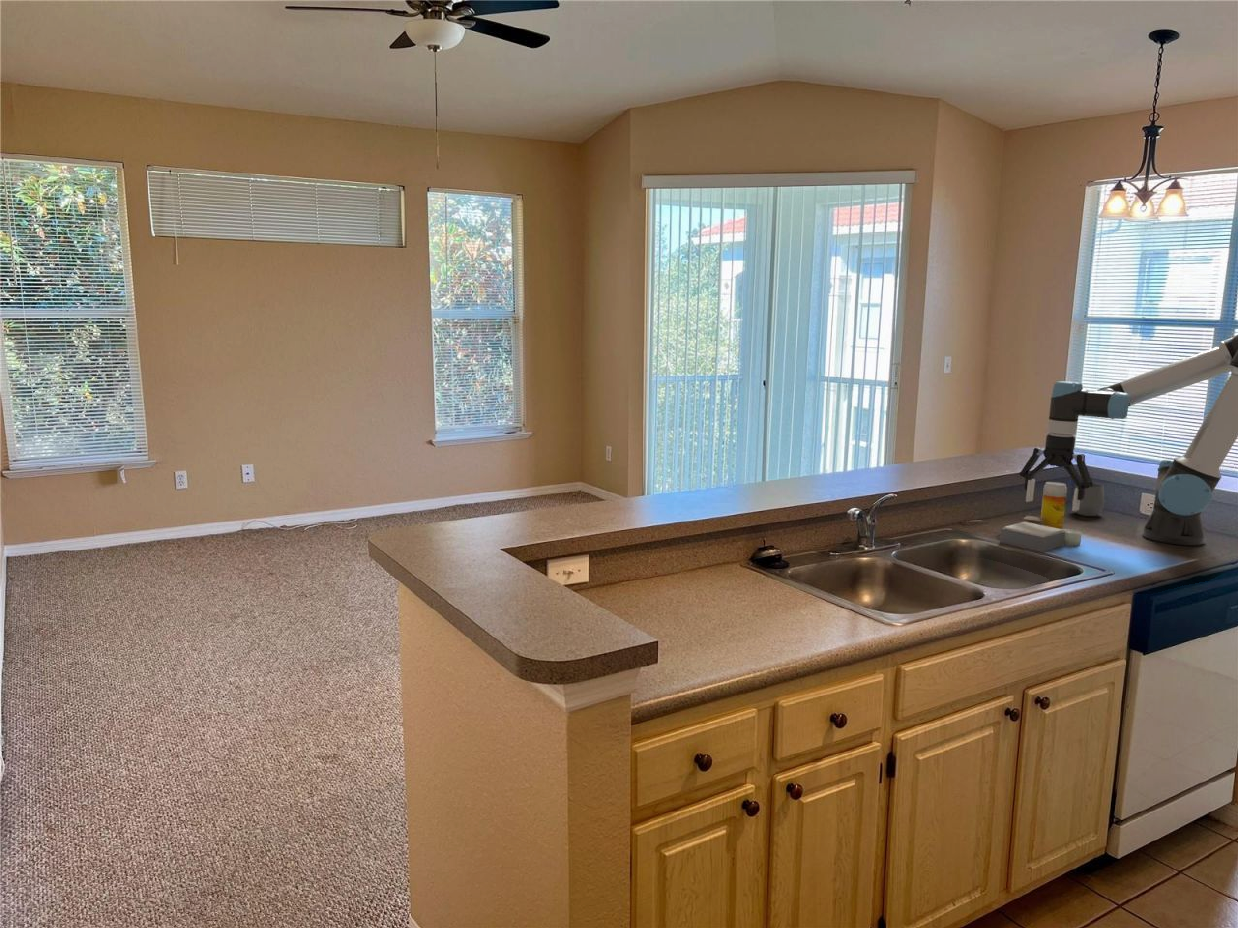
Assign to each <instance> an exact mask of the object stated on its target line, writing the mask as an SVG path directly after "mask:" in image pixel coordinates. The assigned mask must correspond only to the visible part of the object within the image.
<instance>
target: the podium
mask: <svg viewBox="0 0 1238 928" xmlns="http://www.w3.org/2000/svg"><path fill="white" fill-rule="evenodd" d="M1063 529H1064V528H1062V529H1058V528H1053V527H1048V526H1044V525H1039V524H1034V523H1029V522H1023V521H1022V522H1017V523H1014V524H1010V525H1006V526H1004V527H1003V528H1002V527H1001V532H1000V539H999V540H1000V543H1002V544H1006V545H1011V546H1014V547H1019V548H1023V549H1027V550H1032V551H1036V552H1040V553H1044V552H1047V551H1051V550H1053V549H1054V550H1055V549H1058V548H1061V547H1063V546H1065V545H1064V538H1065V532H1064V531H1063Z"/></svg>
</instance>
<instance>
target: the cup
mask: <svg viewBox="0 0 1238 928" xmlns="http://www.w3.org/2000/svg"><path fill="white" fill-rule="evenodd" d="M1092 483H1093V487H1091V488H1086V489H1085V494H1084V499H1083V500H1080V506H1079V510H1078V511H1074V512H1075V513H1076V514H1078V515H1079V516H1083V517H1084V516H1085V517H1098V515H1100V513H1101V512H1102V511H1103V509H1104V507H1105V506H1106V505H1105V503H1106V502H1105V489H1104V485H1103V484H1100V483H1096V482H1092ZM1076 488H1078V487H1077V485H1076V486H1075V489H1076ZM1073 500H1074V495H1073V496H1072V499H1071V504H1072V506H1073Z"/></svg>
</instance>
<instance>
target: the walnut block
mask: <svg viewBox="0 0 1238 928" xmlns="http://www.w3.org/2000/svg"><path fill="white" fill-rule="evenodd" d="M1045 519H1046V518H1040V517H1038V516H1030V515H1026V516H1025V517H1023V519H1022V522H1029V523H1034V524H1039V525H1044V526H1045Z"/></svg>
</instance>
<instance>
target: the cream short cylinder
mask: <svg viewBox="0 0 1238 928" xmlns="http://www.w3.org/2000/svg"><path fill="white" fill-rule="evenodd" d="M1062 529H1063V531H1064V532H1065V538H1064V546H1067V547H1068V546H1069V547H1079V546H1081V544H1082V543H1081V542H1082V535H1083V533H1082V531H1079V530H1076V529H1071V528H1062Z"/></svg>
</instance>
